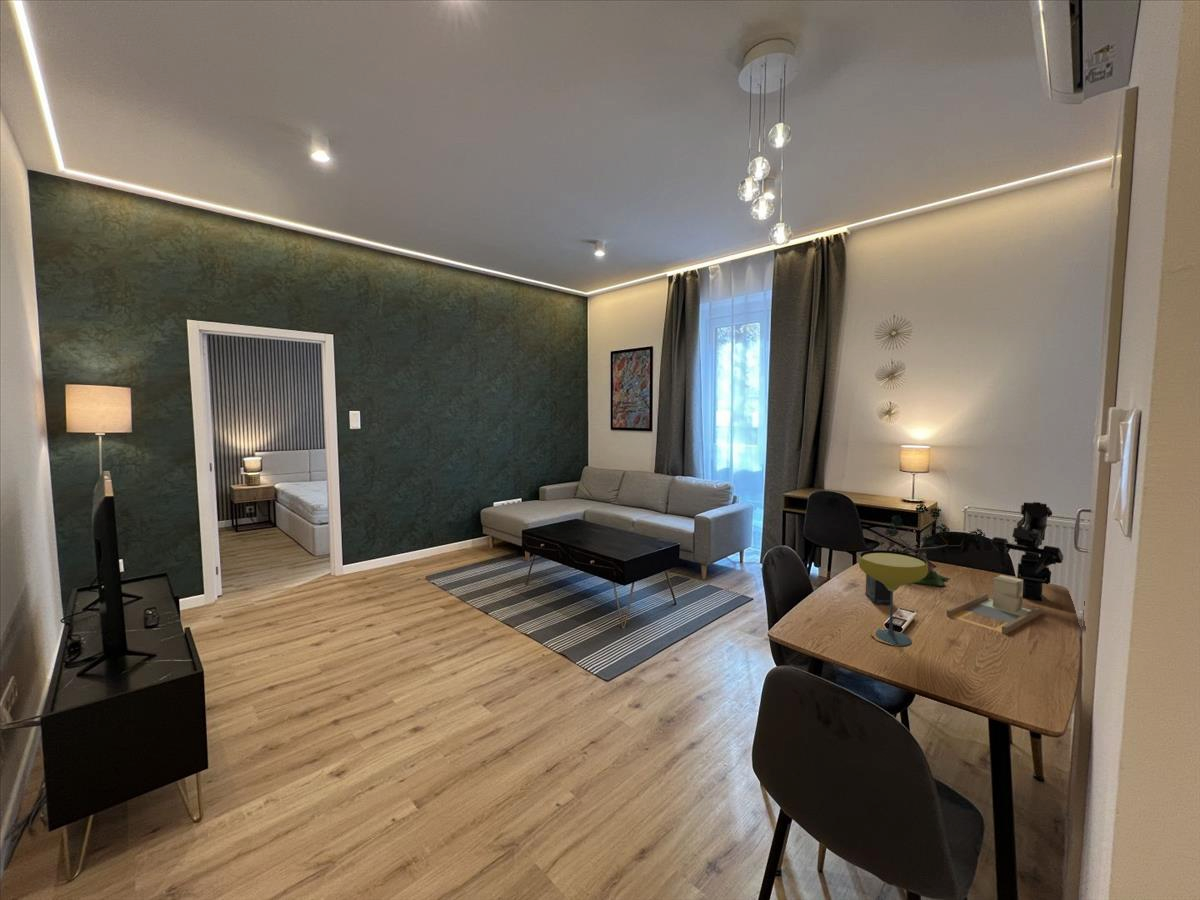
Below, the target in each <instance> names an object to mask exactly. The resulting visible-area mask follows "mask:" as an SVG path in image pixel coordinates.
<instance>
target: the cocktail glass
mask: <svg viewBox="0 0 1200 900" xmlns="http://www.w3.org/2000/svg"><path fill="white" fill-rule="evenodd" d="M921 557H922V556H918V555H916V554H913V553H903V552H897V551H896V550H895V551H891V550H889V551H887V549H886V550H883V549H882V550H881V549H877V550H876V549H874V550H873V549H872V550H866V551H865V550H864V551H862V552H860V554H859V556H858V565H859V568H860V570H861V571H862V572H863V573H865V575H866V574H867V575H869V576H870V577H872V578H874V579H876V580H878V581H880V582H881V583H883V584H884V585H885V586H886V588H887V589H888V590H889V591H891V595H890V605H889V626H888V629H885V630H879V629H877V630H878V631H876V636H877V637H878V638H879V639H881V640H883V641H885V642H888V643H891V644H893V645H899V646H898V647H906V646H905V645H907V646H910V645H911V644H912V641H913V640H912V638H910V637H909V635H906V634H904V633H902V632H900V633H899V631H896V630H894V625H893V622H894V621H893V619H894V618H893V617H894V616H893V610H894V608H893V605H894V592H896V591H897V590H898V589H899V588H900V587H902V586H905V585H910V584H915V583H914V582H917V581H920V580H921V579H923V578H925V577H926V575H927V573H928V563H927V561H926V560H925V559H923V558H921ZM895 631H896V632H895ZM909 644H910V645H909Z"/></svg>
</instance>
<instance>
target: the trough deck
mask: <svg viewBox="0 0 1200 900" xmlns="http://www.w3.org/2000/svg"><path fill="white" fill-rule="evenodd" d="M972 614H977V615H980V616H983V617H987V618H991V619H994V620H997V621H1001V622H1004V623H1002V624H999V626H997V627H993V626H989V625H985V624H983V623H982V624H981V623H980V622H976V621H972V620H969V619H966V617H967V616H969V615H972ZM1040 615H1043V607H1041V606H1037V607H1035V608H1033V609H1028V608H1026V607H1025V608H1024V607H1022V609H1020V610H1019V611H1017V612H1015V613H1014V612H1010V611H1006V610H1003V609H999V608H995V607H993V599H991V598H989V593H987V592H984V593H981V594H978V595H977V596H975V597H972V598H970V599H968V600H966V601H964V602H961V603H960V604H959V603H958V604H957V605H955V606H952V607H950V608H948V609H946V617H949V618H952V619H955V620H958V621H961V622H965V623H968V624H971V625H975V626H979V627H980V628H981V627H982V628H984V629H987V630H991V631H994V632H997V633H1001V634H1004V635H1007V634H1008V633H1009V634H1010V632H1012V631H1014V630H1016V629H1018V628H1020V627H1021V626H1023V625H1025V624H1026V623H1028V622H1030V621H1031V620H1033V619H1035V618H1037V617H1038V616H1040Z"/></svg>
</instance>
